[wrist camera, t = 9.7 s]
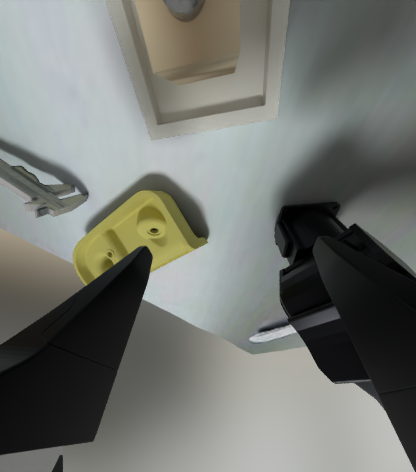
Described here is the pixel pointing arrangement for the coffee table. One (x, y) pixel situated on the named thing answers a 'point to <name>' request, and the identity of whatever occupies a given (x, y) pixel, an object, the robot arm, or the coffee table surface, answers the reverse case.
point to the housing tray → (214, 89)
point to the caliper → (39, 192)
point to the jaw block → (191, 37)
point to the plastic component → (136, 235)
